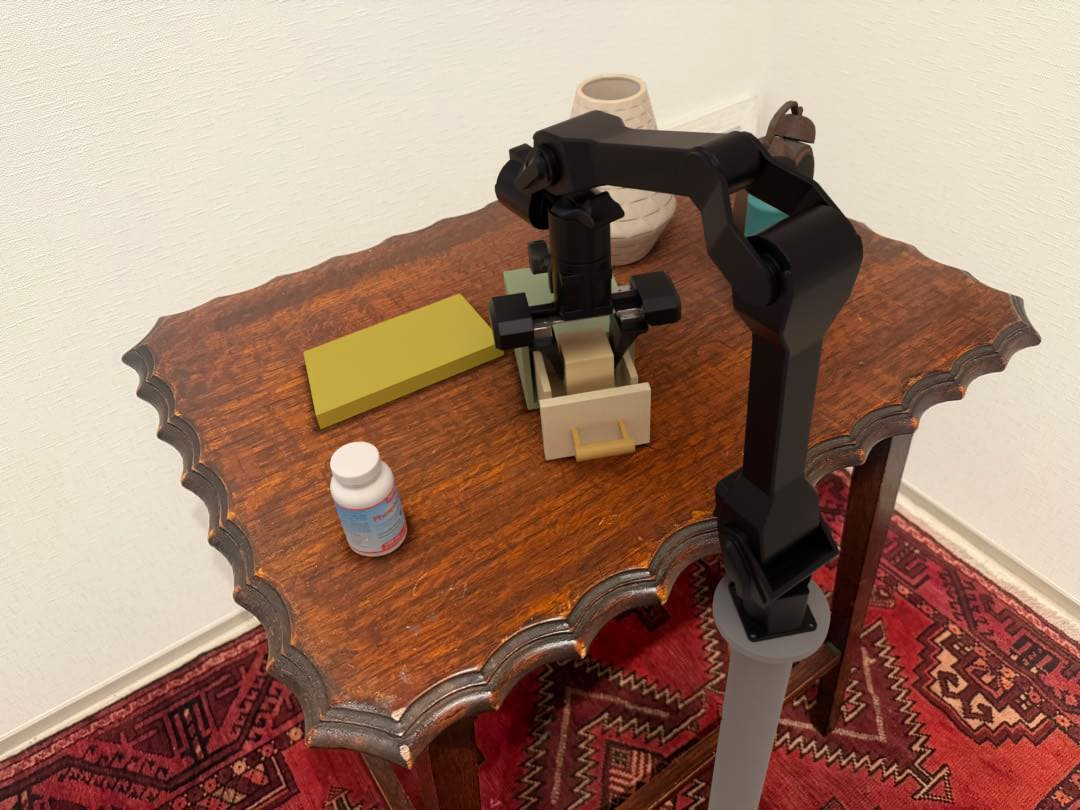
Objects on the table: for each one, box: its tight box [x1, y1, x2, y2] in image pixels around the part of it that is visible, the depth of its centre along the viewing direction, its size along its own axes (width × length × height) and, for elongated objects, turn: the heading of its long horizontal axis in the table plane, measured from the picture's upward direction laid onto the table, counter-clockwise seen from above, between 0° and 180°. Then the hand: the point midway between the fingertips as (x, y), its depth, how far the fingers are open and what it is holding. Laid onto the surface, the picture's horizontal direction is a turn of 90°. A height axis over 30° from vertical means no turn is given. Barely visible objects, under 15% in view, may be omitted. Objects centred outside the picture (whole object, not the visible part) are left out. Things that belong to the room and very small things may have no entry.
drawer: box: [530, 337, 652, 463], centre depth 94 cm, size 18×11×8 cm, turn 9°
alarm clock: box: [732, 100, 817, 235], centre depth 115 cm, size 15×7×20 cm, turn 147°
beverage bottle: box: [744, 156, 797, 237], centre depth 105 cm, size 6×7×20 cm
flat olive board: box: [303, 293, 505, 430], centre depth 107 cm, size 12×2×24 cm
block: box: [557, 326, 614, 395], centre depth 91 cm, size 5×5×5 cm
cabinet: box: [503, 267, 636, 411], centre depth 103 cm, size 15×13×10 cm
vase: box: [569, 73, 678, 267], centre depth 116 cm, size 18×17×23 cm
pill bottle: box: [329, 441, 408, 558], centre depth 84 cm, size 6×6×11 cm
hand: (586, 373), depth 92 cm, fingers closed on block, 5 cm apart
